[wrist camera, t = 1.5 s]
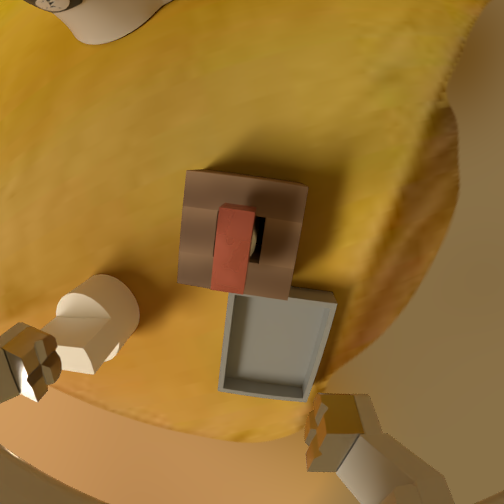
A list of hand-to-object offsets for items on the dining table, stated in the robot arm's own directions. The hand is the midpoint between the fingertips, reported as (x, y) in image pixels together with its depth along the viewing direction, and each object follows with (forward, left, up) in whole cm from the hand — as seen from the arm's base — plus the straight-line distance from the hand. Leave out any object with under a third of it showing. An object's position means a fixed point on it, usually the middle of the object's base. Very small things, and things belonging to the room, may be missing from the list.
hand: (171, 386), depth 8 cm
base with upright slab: (+13, -16, -24) cm, 32 cm away
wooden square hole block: (0, 0, -24) cm, 24 cm away
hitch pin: (0, 0, -24) cm, 24 cm away
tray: (+13, +5, -24) cm, 28 cm away
